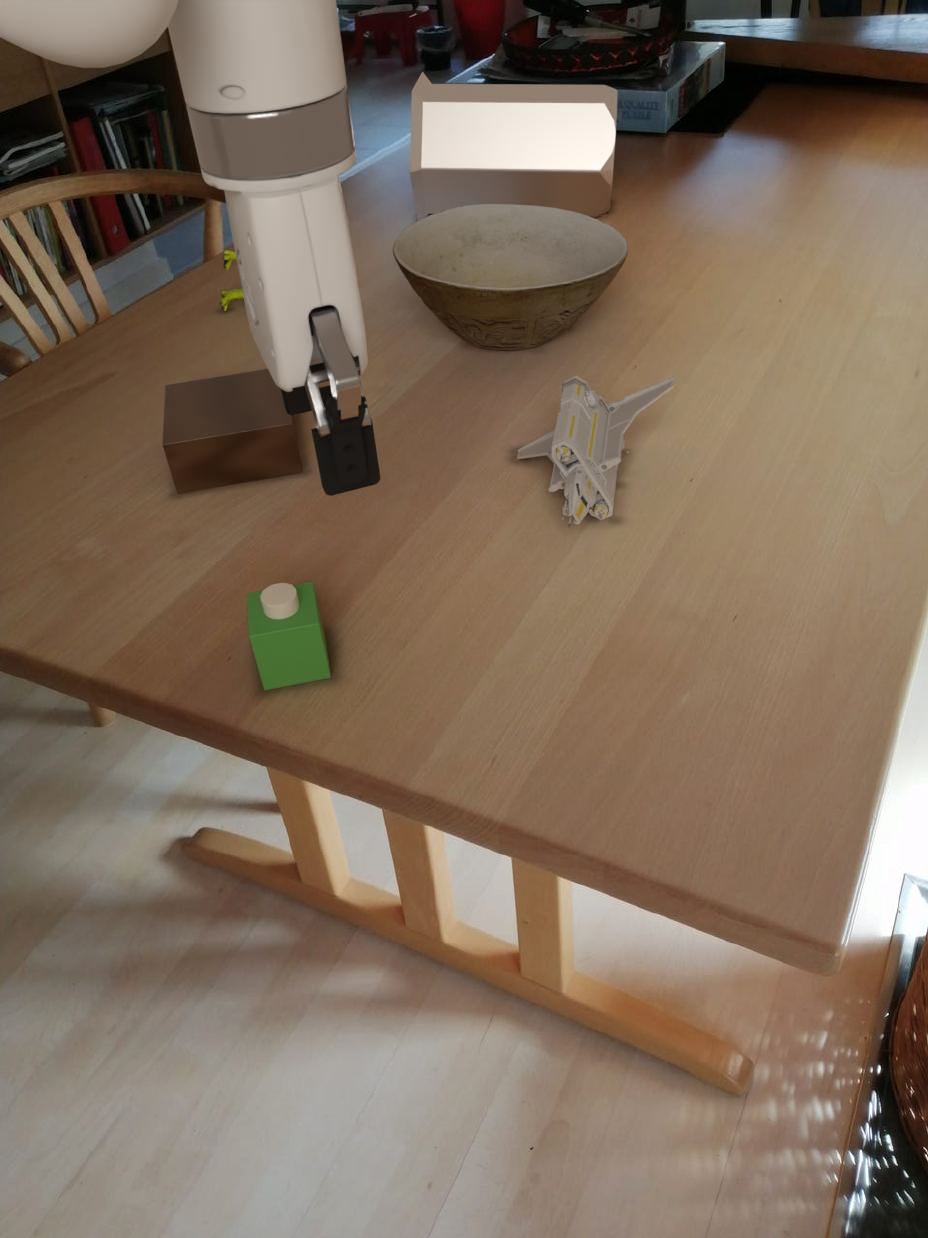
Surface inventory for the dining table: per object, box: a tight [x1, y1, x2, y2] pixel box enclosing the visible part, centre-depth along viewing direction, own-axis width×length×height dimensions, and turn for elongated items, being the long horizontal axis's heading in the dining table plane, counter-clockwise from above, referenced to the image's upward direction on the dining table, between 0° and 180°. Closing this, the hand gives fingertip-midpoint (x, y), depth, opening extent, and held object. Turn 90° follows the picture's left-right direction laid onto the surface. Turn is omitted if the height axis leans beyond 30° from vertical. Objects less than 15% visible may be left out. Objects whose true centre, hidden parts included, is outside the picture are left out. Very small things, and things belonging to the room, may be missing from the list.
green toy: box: [245, 581, 332, 691], centre depth 68 cm, size 5×5×6 cm
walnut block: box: [162, 368, 303, 494], centre depth 90 cm, size 11×11×5 cm
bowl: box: [392, 204, 629, 351], centre depth 104 cm, size 24×24×10 cm
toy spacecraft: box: [516, 375, 676, 529], centre depth 80 cm, size 8×15×15 cm
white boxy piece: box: [409, 71, 619, 221], centre depth 130 cm, size 25×16×19 cm, turn 84°
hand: (330, 445), depth 59 cm, fingers open, 9 cm apart
